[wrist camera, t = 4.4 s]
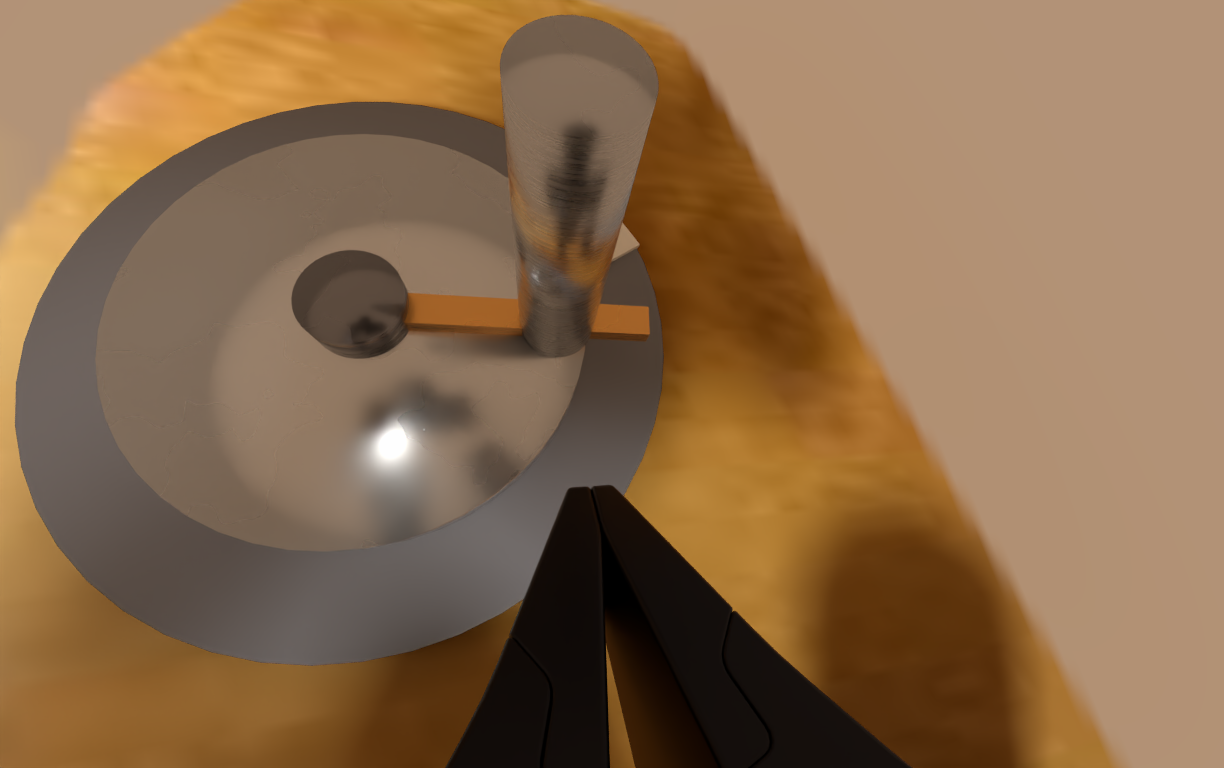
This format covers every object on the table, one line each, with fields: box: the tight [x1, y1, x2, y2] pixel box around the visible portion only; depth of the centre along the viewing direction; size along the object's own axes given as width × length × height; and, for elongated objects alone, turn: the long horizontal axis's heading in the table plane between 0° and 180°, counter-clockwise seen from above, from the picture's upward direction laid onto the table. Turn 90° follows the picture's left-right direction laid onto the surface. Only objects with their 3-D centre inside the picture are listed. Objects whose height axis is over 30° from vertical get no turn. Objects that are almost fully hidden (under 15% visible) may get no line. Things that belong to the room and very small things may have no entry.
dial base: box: [15, 102, 664, 666], centre depth 17 cm, size 20×20×2 cm
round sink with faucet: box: [95, 15, 659, 552], centre depth 11 cm, size 16×14×10 cm
